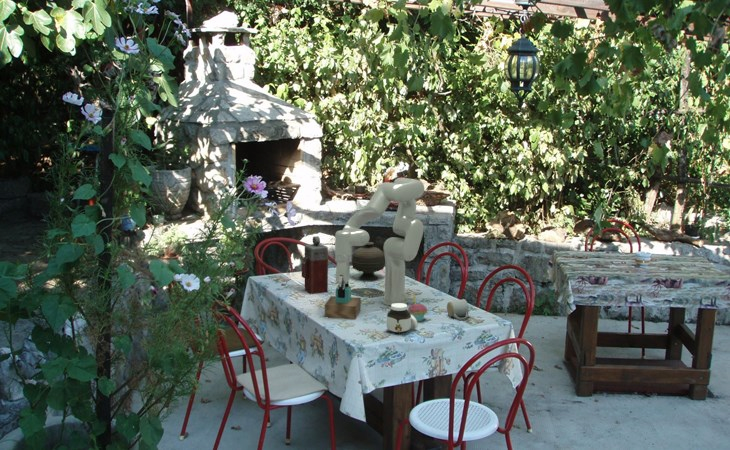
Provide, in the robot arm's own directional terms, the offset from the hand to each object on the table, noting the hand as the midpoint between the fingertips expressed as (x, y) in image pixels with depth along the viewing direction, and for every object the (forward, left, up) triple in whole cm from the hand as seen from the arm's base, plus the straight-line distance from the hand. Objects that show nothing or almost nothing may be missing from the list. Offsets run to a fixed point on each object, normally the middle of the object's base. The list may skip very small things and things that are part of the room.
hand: (343, 294), depth 351 cm
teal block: (0, 0, -3) cm, 3 cm away
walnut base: (0, 0, -9) cm, 9 cm away
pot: (-2, -66, -9) cm, 67 cm away
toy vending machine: (+21, -35, -9) cm, 42 cm away
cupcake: (-34, +2, -9) cm, 35 cm away
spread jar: (-29, +19, -9) cm, 36 cm away
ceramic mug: (-52, -5, -9) cm, 53 cm away
